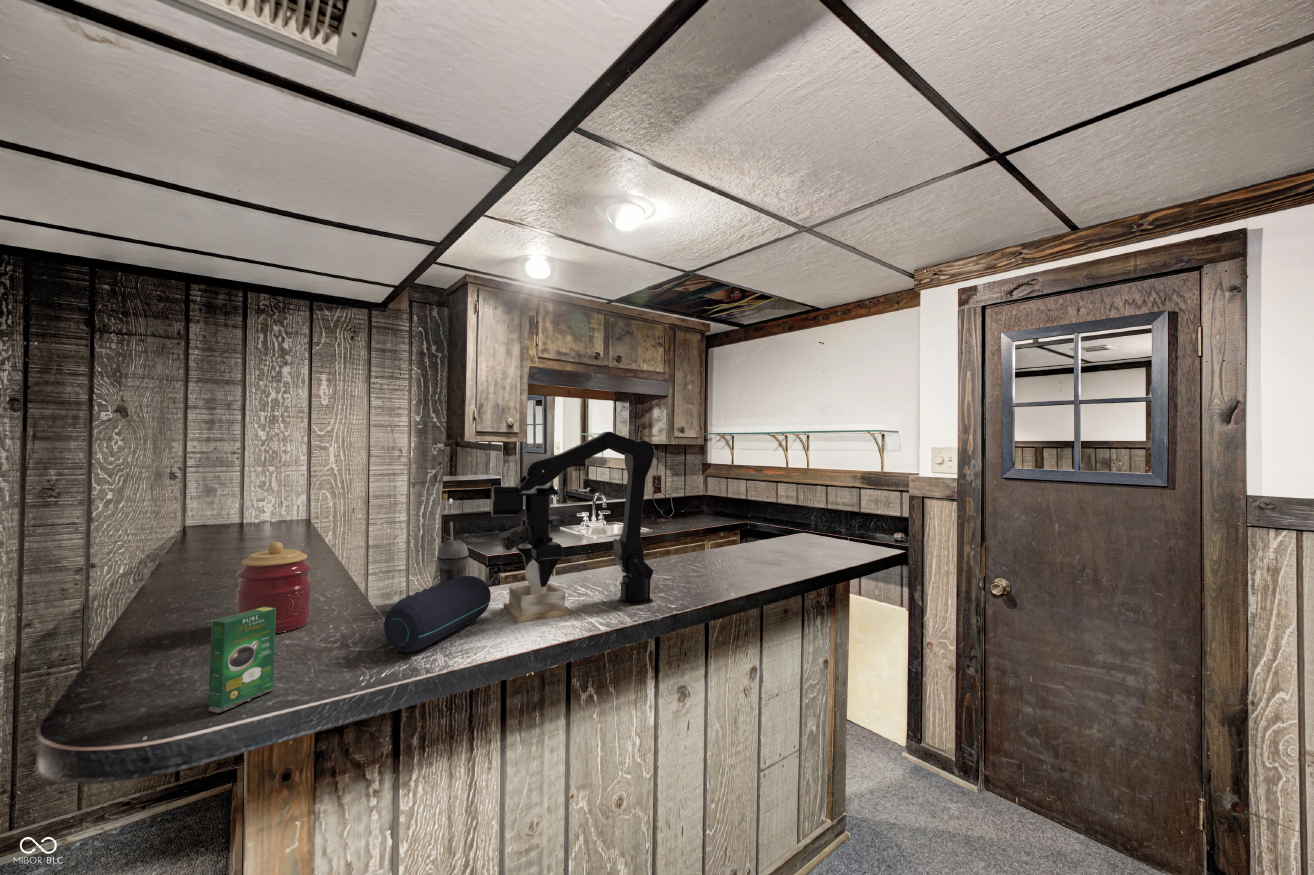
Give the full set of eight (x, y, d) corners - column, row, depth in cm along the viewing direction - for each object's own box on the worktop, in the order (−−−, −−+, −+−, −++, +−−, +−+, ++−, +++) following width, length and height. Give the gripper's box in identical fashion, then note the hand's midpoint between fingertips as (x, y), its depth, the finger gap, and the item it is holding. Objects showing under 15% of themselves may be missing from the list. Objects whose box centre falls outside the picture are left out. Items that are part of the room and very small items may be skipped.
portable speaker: (456, 614, 123) (456, 570, 123) (495, 618, 121) (496, 573, 121) (372, 656, 99) (373, 600, 99) (419, 662, 96) (420, 605, 97)
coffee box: (262, 688, 86) (263, 604, 86) (275, 690, 85) (277, 606, 85) (206, 712, 78) (208, 620, 78) (221, 715, 77) (223, 622, 77)
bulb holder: (552, 600, 134) (552, 580, 134) (570, 614, 124) (570, 592, 124) (503, 607, 128) (503, 586, 128) (518, 622, 118) (518, 599, 118)
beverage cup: (473, 601, 133) (474, 519, 133) (460, 610, 126) (461, 523, 126) (445, 600, 134) (446, 518, 134) (430, 609, 126) (431, 522, 127)
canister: (324, 622, 117) (326, 539, 117) (259, 641, 105) (260, 550, 105) (287, 613, 122) (288, 534, 122) (220, 631, 110) (222, 544, 111)
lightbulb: (556, 605, 127) (558, 558, 127) (538, 612, 122) (540, 563, 122) (536, 600, 130) (538, 554, 130) (518, 607, 125) (519, 559, 125)
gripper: (492, 511, 130) (491, 577, 130) (514, 522, 114) (513, 597, 114) (537, 509, 136) (536, 572, 135) (564, 518, 120) (563, 590, 119)
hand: (536, 582), depth 126 cm, fingers open, 9 cm apart
